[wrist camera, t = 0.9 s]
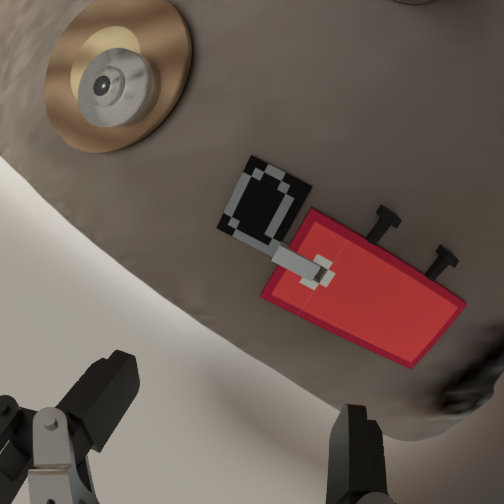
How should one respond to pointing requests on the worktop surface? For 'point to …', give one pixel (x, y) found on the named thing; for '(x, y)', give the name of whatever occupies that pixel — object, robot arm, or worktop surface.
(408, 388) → the worktop surface
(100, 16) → the turntable
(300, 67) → the worktop surface
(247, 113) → the worktop surface
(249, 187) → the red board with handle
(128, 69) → the cover
